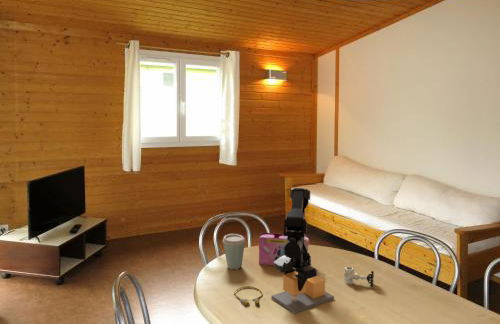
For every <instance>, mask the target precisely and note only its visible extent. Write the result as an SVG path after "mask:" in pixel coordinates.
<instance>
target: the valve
mask: <svg viewBox="0 0 500 324" xmlns="http://www.w3.org/2000/svg"><path fill="white" fill-rule="evenodd" d="M374 274H375V271H374V270H370V273H369V274H368V275H367V276H365V275H363V274H359V272H355V269H354V267H352V266H345V267H344V273H343V277H344V283H345V285H353V284H354V281H358V280H361V281H362V280H363V281H364V280H366V281H367V283H368V284H369V286H370V287H374V281H375V280H374V278H375V275H374Z"/></svg>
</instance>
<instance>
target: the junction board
mask: <svg viewBox="0 0 500 324" xmlns="http://www.w3.org/2000/svg"><path fill="white" fill-rule="evenodd" d="M270 296H271V298H270V299H272V300H273V301H274V302H276V303H278V304H279V305H281V307H284V308H285V309H286V310H288V311H289V312H291V313H293V314H296V313H299V312H302V311H305V310H307V309H311V308H313V307H316V306H319V305H321V304H324V303H327V302H329V301H332V300H334V299H335V296H334V295H333V294H331V293H329V292H327V291H326V280H325V279H324V278H321V277H320V276H318V275H317V276H315V277H312V278H309V279H307V281H306V292H303V293H300V294H297V295H294V296H293V295H291V294H289V293H288V292H286V291H284V290H283V291H281V292H278V293H275V294H273V295H272V294H271V295H270Z"/></svg>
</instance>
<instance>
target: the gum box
mask: <svg viewBox="0 0 500 324" xmlns="http://www.w3.org/2000/svg"><path fill="white" fill-rule="evenodd" d="M283 235H284V233H279V232H278V233H276V232H261V233H260V235H259V236H258V252H259V253H258V264H259V265H269V266H275V264H274V259H275V257H276V256H280V255H284V247H285V245H286V242H287V236H283ZM304 242H305V244H306V246H307V247H308V248H309V246H310V240H309V235H307V234H305V237H304Z"/></svg>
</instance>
